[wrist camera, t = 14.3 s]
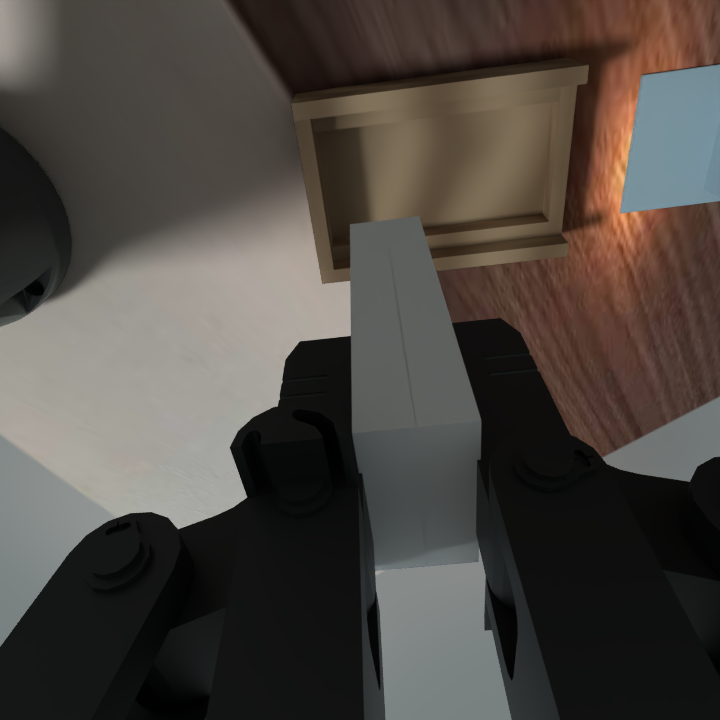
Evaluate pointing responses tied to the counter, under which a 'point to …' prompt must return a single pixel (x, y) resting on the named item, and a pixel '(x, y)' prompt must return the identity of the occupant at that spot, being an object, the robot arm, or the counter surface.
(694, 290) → the counter surface
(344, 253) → the pencil box
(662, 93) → the lid
